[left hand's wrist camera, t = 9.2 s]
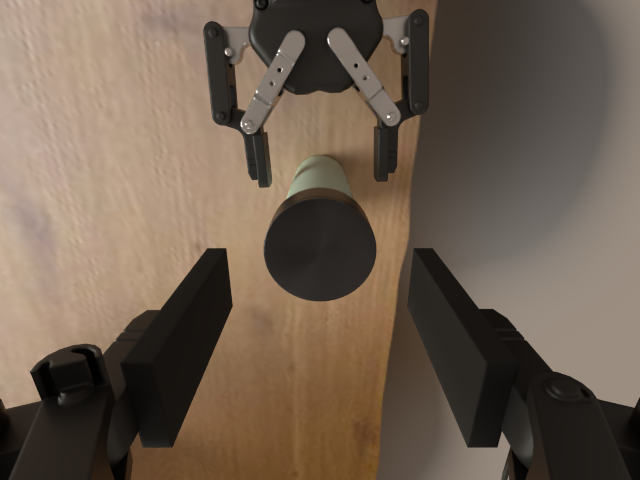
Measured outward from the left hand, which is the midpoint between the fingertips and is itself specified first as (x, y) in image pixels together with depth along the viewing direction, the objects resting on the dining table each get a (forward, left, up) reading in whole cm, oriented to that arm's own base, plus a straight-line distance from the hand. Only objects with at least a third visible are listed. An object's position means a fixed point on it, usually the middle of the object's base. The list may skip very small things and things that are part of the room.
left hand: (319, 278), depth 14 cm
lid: (0, 0, -3) cm, 3 cm away
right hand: (+1, 0, -13) cm, 13 cm away
